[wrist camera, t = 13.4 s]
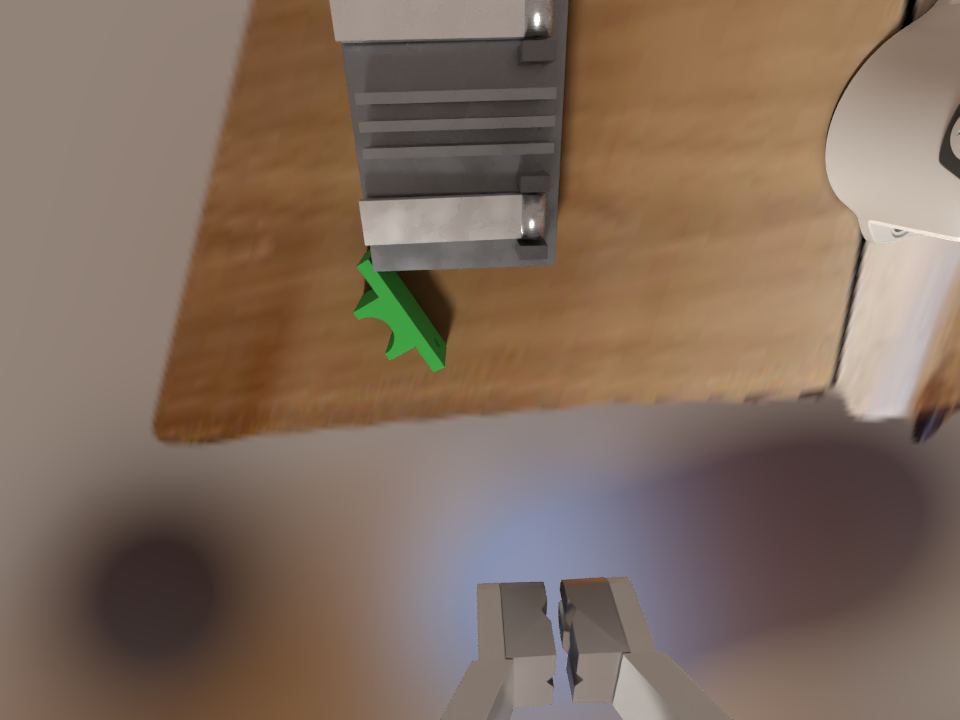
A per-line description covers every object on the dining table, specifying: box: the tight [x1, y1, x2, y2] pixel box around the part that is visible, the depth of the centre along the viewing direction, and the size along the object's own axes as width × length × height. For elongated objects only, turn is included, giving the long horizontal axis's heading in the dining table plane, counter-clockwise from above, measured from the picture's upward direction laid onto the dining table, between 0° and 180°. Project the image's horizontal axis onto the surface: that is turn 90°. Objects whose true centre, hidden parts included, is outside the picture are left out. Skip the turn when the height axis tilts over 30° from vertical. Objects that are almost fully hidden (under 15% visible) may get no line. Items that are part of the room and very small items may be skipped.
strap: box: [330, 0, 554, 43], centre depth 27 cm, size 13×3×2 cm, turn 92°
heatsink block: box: [341, 0, 568, 272], centre depth 32 cm, size 14×20×8 cm
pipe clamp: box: [353, 250, 446, 372], centre depth 41 cm, size 11×4×5 cm, turn 30°
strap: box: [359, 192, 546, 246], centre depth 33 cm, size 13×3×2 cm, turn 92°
